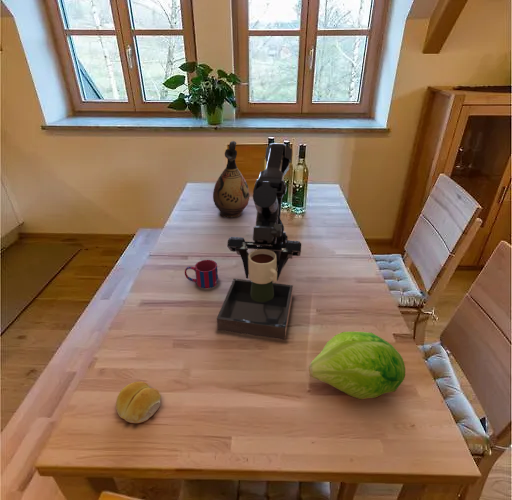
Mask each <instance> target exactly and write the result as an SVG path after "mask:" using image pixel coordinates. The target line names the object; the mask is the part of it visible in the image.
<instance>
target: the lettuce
mask: <svg viewBox="0 0 512 500" xmlns="http://www.w3.org/2000/svg"><path fill="white" fill-rule="evenodd" d="M405 365H406V364H405V361H404V358H403V356H402V355H401V353H400V352H399V351H398V350H397V349H396V348H395V346H393V344H391V343H389V342H388V341H387V340H385V339H384V338H382V337H380V336H378V335H377V334H375V333H374V332H370V331H369V332H368V331H343V332H340V333H337V334H335V335H334V336H333V337H331V338H330V339H329V340H328V341H327V342H326V344H325V345H324V347H323V348H322V350H321V352H319V353H318V354H317V355H316V356H315V357H314V359H313V360H311V362H310V363H309V365H308V374H309V377H310V378H313V379H314V380H317V381H320V382H323V383H325V384H327V385H329V386H331V387H333V388H335V389H337V390H338V391H340V392H342V393H344V394H346V395H347V396H349V397H352V398H354V399H358V400H359V401H360V400H365V399H376V398H377V397H380V396H381V395H383V394H388V393H393V392H396V391H397V390H398V388H399V387H400V386H401V385H402V383H403V382H404V381H405V378H406V366H405Z"/></svg>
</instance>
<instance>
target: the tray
mask: <svg viewBox="0 0 512 500" xmlns="http://www.w3.org/2000/svg"><path fill="white" fill-rule="evenodd" d="M251 285H252V281H251V280H250V279H241V278H232V282H231V284H230V287H229V289H228V291H227V293H226V296H225V298H224V300H223V303H222V305H221V308H220V311H219V312H218V315H217V317H216V325H217V326H216V327H217V331H220V332H228V333H236V334H242V335H248V336H249V335H250V336H255V337H263V338H270V339H277V340H286V336H287V331H288V323H289V319H290V312H291V306H292V301H293V293H294V285H293V284H287V283H286V284H285V283H277V282H273V289H274V297H273V299H271V300H269V301H266V302H257V301H254V300H253V299H252V298H251V295H250V293H251Z"/></svg>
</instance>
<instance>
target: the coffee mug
mask: <svg viewBox="0 0 512 500" xmlns="http://www.w3.org/2000/svg"><path fill="white" fill-rule="evenodd" d="M248 269H249V275H248V280H251V281H252V285H251V293H250V295H251V298H252V299H253V300H254V301H257V302H266V301H269V300H271V299H273V297H274V289H273V283H277V282H278V281H277V269H278V266H277V258H276V254H275V253H274V252H273V251H271V250H268V249H253V250H252V251H250V252H249V255H248Z"/></svg>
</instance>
